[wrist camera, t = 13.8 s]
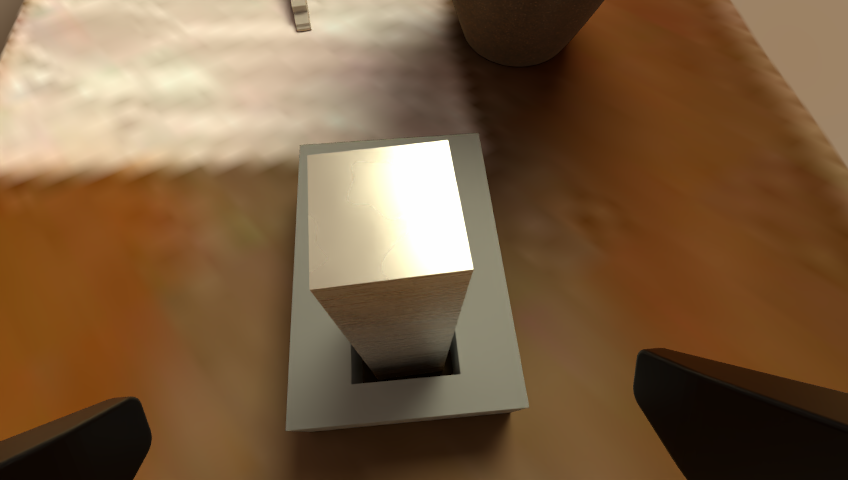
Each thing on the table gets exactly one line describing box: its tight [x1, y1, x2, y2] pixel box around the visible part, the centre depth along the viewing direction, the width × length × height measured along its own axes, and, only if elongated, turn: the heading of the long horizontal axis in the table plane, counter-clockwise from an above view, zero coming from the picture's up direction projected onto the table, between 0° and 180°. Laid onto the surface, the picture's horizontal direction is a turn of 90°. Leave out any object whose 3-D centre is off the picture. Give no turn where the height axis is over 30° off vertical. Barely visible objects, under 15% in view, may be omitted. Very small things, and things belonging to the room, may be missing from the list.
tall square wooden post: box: [307, 140, 473, 380], centre depth 14 cm, size 3×3×13 cm
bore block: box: [286, 133, 529, 432], centre depth 20 cm, size 13×9×4 cm
